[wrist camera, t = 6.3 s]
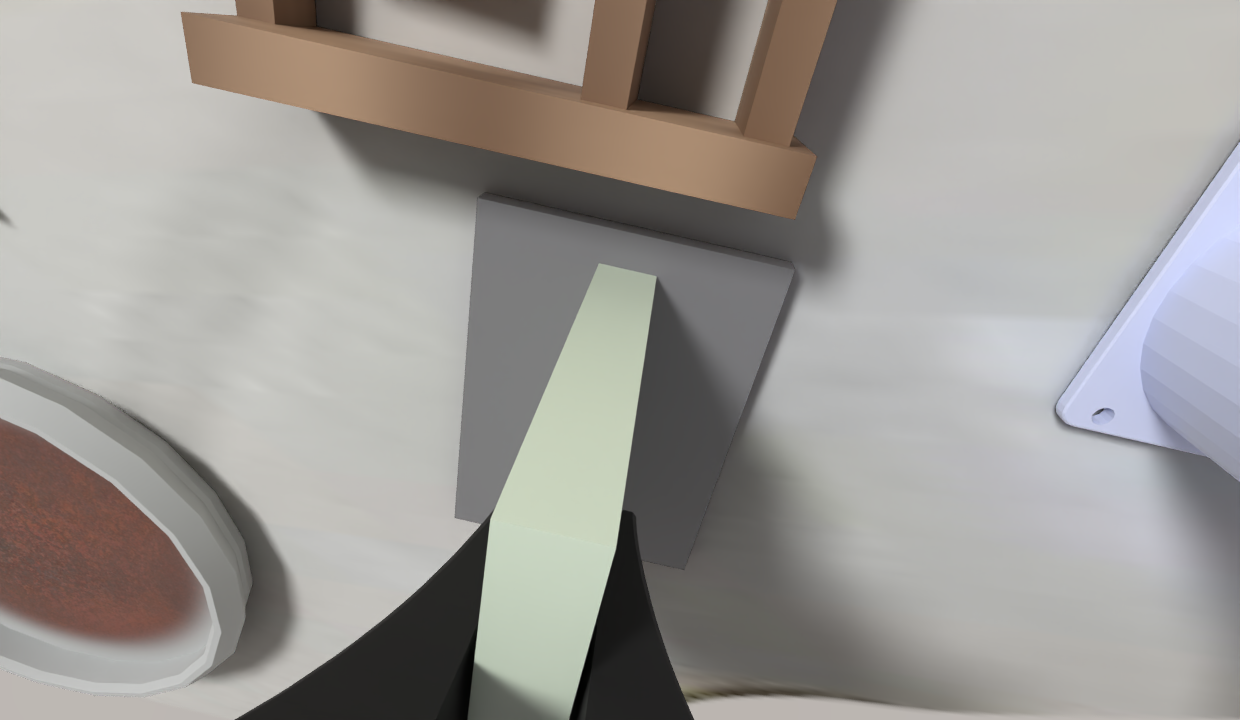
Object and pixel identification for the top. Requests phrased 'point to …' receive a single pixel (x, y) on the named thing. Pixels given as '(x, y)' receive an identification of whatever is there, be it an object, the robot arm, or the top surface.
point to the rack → (540, 97)
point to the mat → (673, 365)
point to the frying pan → (108, 548)
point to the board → (562, 511)
